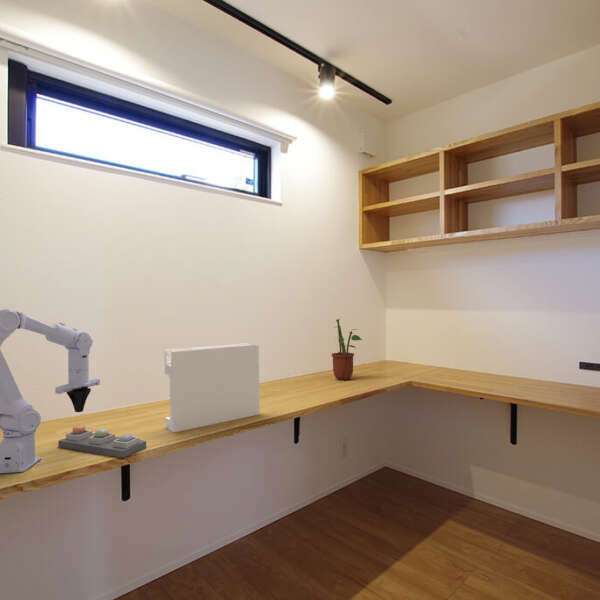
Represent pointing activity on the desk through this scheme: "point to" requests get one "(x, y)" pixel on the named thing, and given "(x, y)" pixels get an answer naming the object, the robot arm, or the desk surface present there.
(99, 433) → the sage button
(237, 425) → the desk surface
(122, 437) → the slate button
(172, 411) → the block
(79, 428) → the terracotta button
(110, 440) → the button panel
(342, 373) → the potted plant
